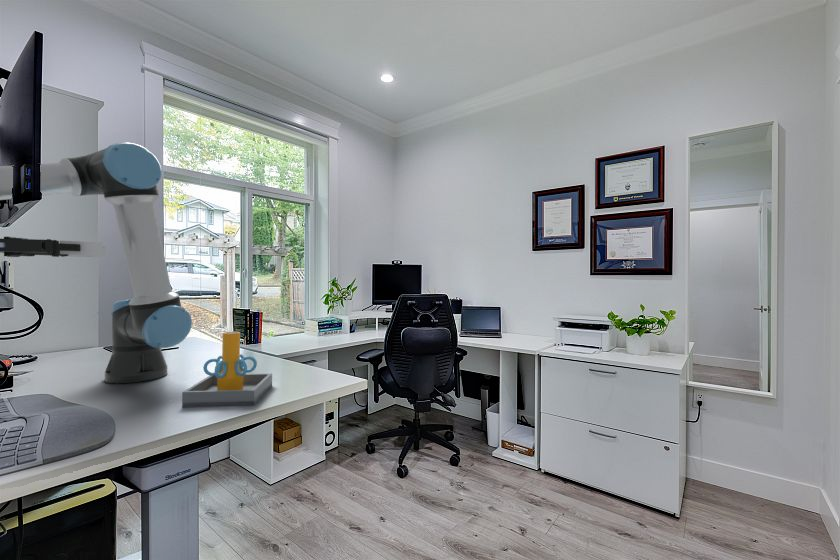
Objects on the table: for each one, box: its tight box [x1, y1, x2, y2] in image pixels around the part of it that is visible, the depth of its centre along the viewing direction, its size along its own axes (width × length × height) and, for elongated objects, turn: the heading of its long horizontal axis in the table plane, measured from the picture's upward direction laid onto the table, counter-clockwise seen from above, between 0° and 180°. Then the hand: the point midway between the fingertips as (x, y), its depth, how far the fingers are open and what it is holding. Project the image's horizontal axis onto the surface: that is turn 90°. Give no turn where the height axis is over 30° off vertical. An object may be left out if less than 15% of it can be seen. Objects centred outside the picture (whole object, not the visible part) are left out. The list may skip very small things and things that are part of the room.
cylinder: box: [203, 331, 258, 390], centre depth 99 cm, size 12×10×15 cm
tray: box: [181, 373, 273, 408], centre depth 98 cm, size 16×16×4 cm
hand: (103, 250), depth 88 cm, fingers open, 13 cm apart
